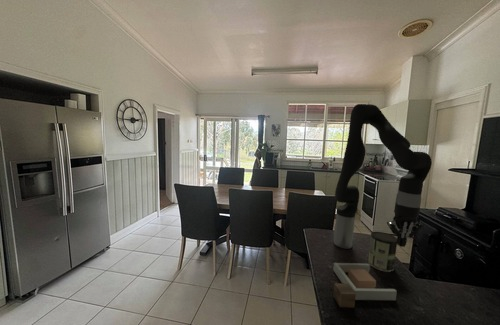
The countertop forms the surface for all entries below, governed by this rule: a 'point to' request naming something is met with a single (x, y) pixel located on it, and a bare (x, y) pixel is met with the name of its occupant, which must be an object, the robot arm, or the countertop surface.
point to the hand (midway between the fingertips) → (400, 245)
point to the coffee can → (382, 251)
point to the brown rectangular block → (361, 278)
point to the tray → (362, 292)
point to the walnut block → (344, 295)
